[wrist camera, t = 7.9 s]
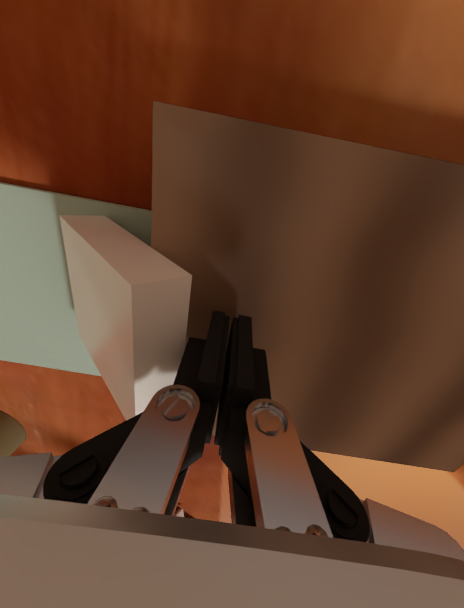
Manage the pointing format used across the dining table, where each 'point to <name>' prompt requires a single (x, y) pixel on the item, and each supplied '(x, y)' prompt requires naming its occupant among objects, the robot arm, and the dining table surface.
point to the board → (325, 275)
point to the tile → (126, 308)
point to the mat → (46, 275)
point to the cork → (10, 434)
